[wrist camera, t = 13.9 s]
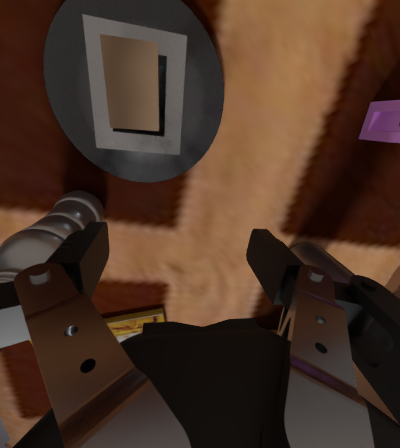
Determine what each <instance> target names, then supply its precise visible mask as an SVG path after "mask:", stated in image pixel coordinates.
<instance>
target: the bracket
mask: <svg viewBox="0 0 400 448" xmlns="http://www.w3.org/2000/svg"><path fill="white" fill-rule="evenodd" d="M399 122H400V100H391V101H378V102H371V103H370V106H369V109H368V112H367V115H366V118H365V121H364V124H363V127H362V130H361V133H360V136H359V139H362V140H372V141H381V142H392V143H400V126H399Z"/></svg>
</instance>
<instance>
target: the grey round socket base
mask: <svg viewBox="0 0 400 448" xmlns="http://www.w3.org/2000/svg"><path fill="white" fill-rule="evenodd" d="M100 34H103V35H110V36H117V37H124V38H131V39H137V40H144V41H151V42H158V68H159V131H149V130H135V129H120V128H110V123H109V114H108V105H107V96H106V87H105V78H104V69H103V60H102V51H101V42H100ZM44 78H45V86H46V90H47V94H48V98H49V101H50V104H51V107H52V109H53V112H54V114H55V116H56V118H57V120H58V122H59V124H60V126H61V128H62V129H63V131H64V132H65V134H66V136H67V137H68V138H69V140H70V141H71V142H72V143H73V145H74V146H75V147H76V148H77V149H78V150H79V151H80V152H81V153H82V154H83V155H84V156H85V157H86V158H87V159H89V160H90V161H91V162H92V163H93V164H95V165H97V166H98V167H100V168H101V169H103V170H104V171H106V172H108V173H110V174H112V175H115V176H117V177H120V178H123V179H127V180H131V181H137V182H157V181H163V180H167V179H171V178H173V177H176V176H178V175H180V174H182V173H184V172H185V171H187V170H188V169H190V168H191V167H192V166H194V165H195V164H196V163H197V162H198V161H199V160H200V159H201V158H202V157H203V156H204V154H205V153H206V152H207V150H208V149H209V147H210V146H211V144H212V142H213V140H214V138H215V136H216V134H217V131H218V128H219V125H220V122H221V117H222V112H223V102H224V85H223V78H222V71H221V67H220V63H219V59H218V56H217V53H216V51H215V48H214V45H213V43H212V41H211V39H210V37H209V35H208V33H207V32H206V30H205V28H204V27H203V25H202V24H201V22H200V21H199V19H198V18H197V17H196V16H195V15H194V13H193V12H192V11H191V10H190V9H189V8H188V7H187V6H186V5H185V4H184V3H183V2H182V1H181V0H66V1H65V2H64V3H63V4H62V6H61V7H60V9H59V10H58V12H57V13H56V15H55V17H54V19H53V21H52V23H51V25H50V28H49V31H48V35H47V38H46V42H45V49H44Z"/></svg>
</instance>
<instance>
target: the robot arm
mask: <svg viewBox="0 0 400 448" xmlns="http://www.w3.org/2000/svg"><path fill="white" fill-rule="evenodd" d="M108 257H109V238H108V226H107V223H106V222H97V221H90V222H89V223H88V224H87V225H86V227H85V228H84V229H83V230H77V231H76V232H74V233H72V234H70V235H68V237H67V238H66V239H65V240H64V242H62V243H61V245H60V246H59V247H58V248H57V249H56V250H55V251H54V253H53V254H52V255H51V256H50V257H49V258H48V259H47V261H46V262H45V263H40V264H36V265H33V266H30V267H28V268H26V269H24V270H22V271H21V272H19V273H18V274H17V275H16V276H15V278H14V281H10V282H5V283H0V351H1V349H2V348H3V347H5V346H9V345H12V344H15V343H19V342H22V341H26V340H29V339H31V341H32V344H33V347H34V350H35V354H36V357H37V360H38V363H39V366H40V370H41V373H42V376H43V379H44V382H45V386H46V389H47V392H48V395H49V398H50V402H51V405H52V408H51V409H50V410H49V411H48V412H47V413H46V414H45V415H44V416H43V417H42V418H41V419H40V420H39V421H38V422H37V423H36V424H35V425H34V426H33V427H32V428H31V429H30V430H29V431H28V432H27V433H26V434H25V435H24V436H23V437H22V439H21V440H20V441H19V442H18V443H17V444H16V445H15V446H14V447H13V448H400V425H399V424H400V299H399V298H398V297H396V296H395V295H394V294H393V293H391V292H390V291H389V290H387V289H386V288H385V287H384V286H382V285H381V284H379V283H378V282H376V281H374V280H372V279H370V278H367V277H364V276H360V275H355V274H354V273H352V272H351V271H350V270H349V269H347V268H346V267H345V266H344V265H342V264H341V263H340V262H339V261H337V260H336V259H335V258H334V257H332V256H331V255H330V254H329V253H327V252H326V251H325V250H324V249H322V248H319V247H317V246H316V245H315V244H313V243H310V242H304V243H300V244H297V245H295V246H293V247H292V248H290V249H289V248H288V247H287V246H286V245H285V244H284V243H283V242H282V241H280V240H278V239H277V238H275V237H274V236H273V235H272V234H271V233H270V232H269V231H268V230H267V229H253V230H252V233H251V237H250V240H249V244H248V248H247V253H246V257H247V262H248V263H249V265H250V267H251V268H252V270H253V272H254V274H255V275H256V277H257V279H258V280H259V282H260V284H261V285H262V287H263V289H264V290H265V292H266V294H267V296H268V297H269V299H270V301H271V302H272V304H273V305H279V304H283V305H284V308H283V311H282V314H281V319H280V323H279V328H278V332H277V334H276V333H274V332H272V331H269V330H267V329H263V328H259V327H258V325H257V323H256V320H255V318H245V319H228V320H225V321H221V322H218V323H215V324H212V325H208V326H205V327H200V326H194V325H189V324H183V323H178V322H150V323H143V330H142V333H139V334H136V335H134V336H131V337H129V338H127V339H125V340H123V341H122V342H120V343H119V342H118V340H117V339H116V337H115V336H114V334H113V333H112V331H111V330H110V328H109V327H108V325H107V324H106V322H105V321H104V319H103V318H102V316H101V314H100V313H99V311H98V310H97V308H96V307H95V305H94V304H93V302H92V301H91V298H92V296H93V293H94V291H95V289H96V286H97V284H98V282H99V279H100V277H101V275H102V272H103V270H104V268H105V265H106V263H107V261H108ZM352 360H353V362H354V363H355V364H356V366H357V367H358V368H359V370H360V371H361V373H362V374H363V375H364V377H365V378H366V379H367V380H368V382H369V383H370V385H371V386H372V387H373V389H374V390H375V392H376V393H377V394H378V396H379V397H380V398H381V400H382V401H383V402H384V404H385V405H386V406H387V408H388V409H389V411H390V412H391V413H392V415H393V416H394V417H395V419H396V420H397V421H398V423H399V424H398V423H396V422H395V421H393V420H392V419H391V418H390V417H389V416H387V415H386V414H385V413H383V412H382V411H381V410H379V409H378V408H377V407H375V406H374V405H373V404H371V403H370V402H369V401H367V400H366V399H365V398H363V397H362V396H361V395H359V394H358V392H357V388H356V382H355V375H354V369H353V362H352Z"/></svg>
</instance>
